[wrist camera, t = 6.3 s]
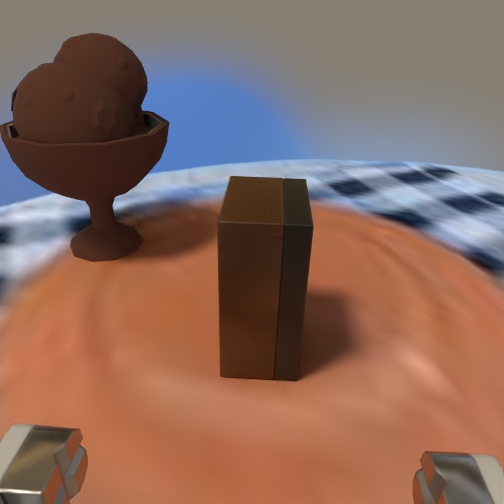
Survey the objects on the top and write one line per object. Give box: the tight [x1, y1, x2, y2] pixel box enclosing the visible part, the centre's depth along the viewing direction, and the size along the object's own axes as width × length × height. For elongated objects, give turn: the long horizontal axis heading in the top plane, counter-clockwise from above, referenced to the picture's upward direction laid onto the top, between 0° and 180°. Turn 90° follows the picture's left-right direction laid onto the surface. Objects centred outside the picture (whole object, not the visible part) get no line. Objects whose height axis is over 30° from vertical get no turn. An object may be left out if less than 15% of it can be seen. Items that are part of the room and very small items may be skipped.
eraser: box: [217, 176, 314, 381], centre depth 22 cm, size 4×6×9 cm
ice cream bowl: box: [0, 33, 169, 261], centre depth 30 cm, size 11×11×15 cm
